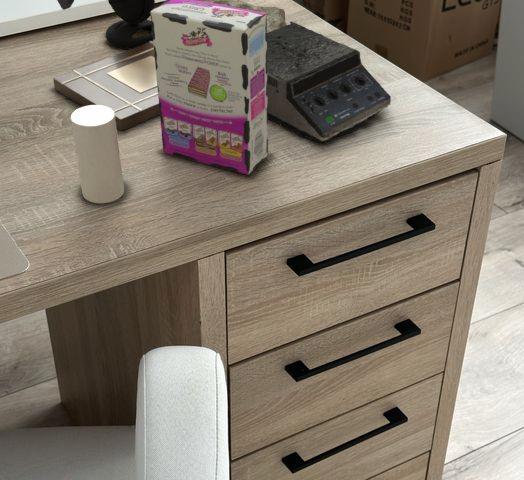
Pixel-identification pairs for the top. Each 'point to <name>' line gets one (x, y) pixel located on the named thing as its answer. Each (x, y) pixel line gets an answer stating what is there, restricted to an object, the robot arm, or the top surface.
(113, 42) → the webcam
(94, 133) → the white cylinder
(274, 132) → the top surface
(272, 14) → the rock
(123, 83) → the grid board
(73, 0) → the robot arm
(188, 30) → the candy bar box
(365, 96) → the electronic device
